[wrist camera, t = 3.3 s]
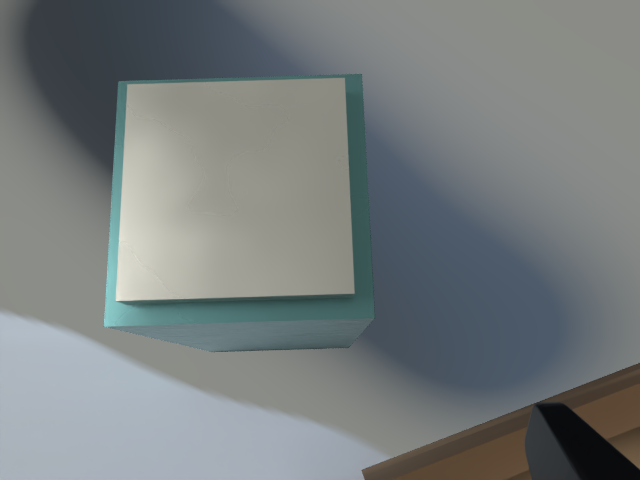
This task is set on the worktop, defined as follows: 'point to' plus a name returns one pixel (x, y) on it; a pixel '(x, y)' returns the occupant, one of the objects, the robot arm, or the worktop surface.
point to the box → (523, 436)
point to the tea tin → (241, 213)
